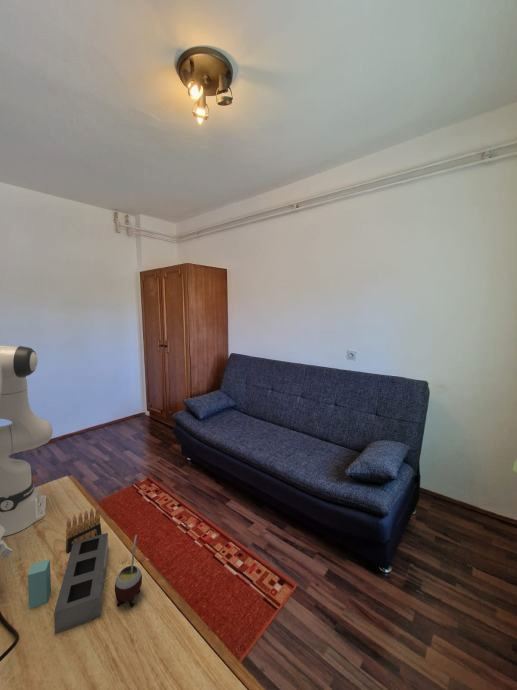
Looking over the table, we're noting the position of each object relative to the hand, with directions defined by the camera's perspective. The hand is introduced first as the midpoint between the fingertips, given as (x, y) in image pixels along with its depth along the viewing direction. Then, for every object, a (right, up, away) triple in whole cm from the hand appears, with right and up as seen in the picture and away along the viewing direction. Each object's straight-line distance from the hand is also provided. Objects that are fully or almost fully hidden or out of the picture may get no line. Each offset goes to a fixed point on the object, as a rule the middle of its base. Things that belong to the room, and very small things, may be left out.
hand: (2, 568), depth 73 cm
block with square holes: (+17, -12, +9) cm, 23 cm away
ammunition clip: (+7, -11, +24) cm, 27 cm away
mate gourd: (+31, -13, +6) cm, 34 cm away
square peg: (+7, -12, +4) cm, 15 cm away
